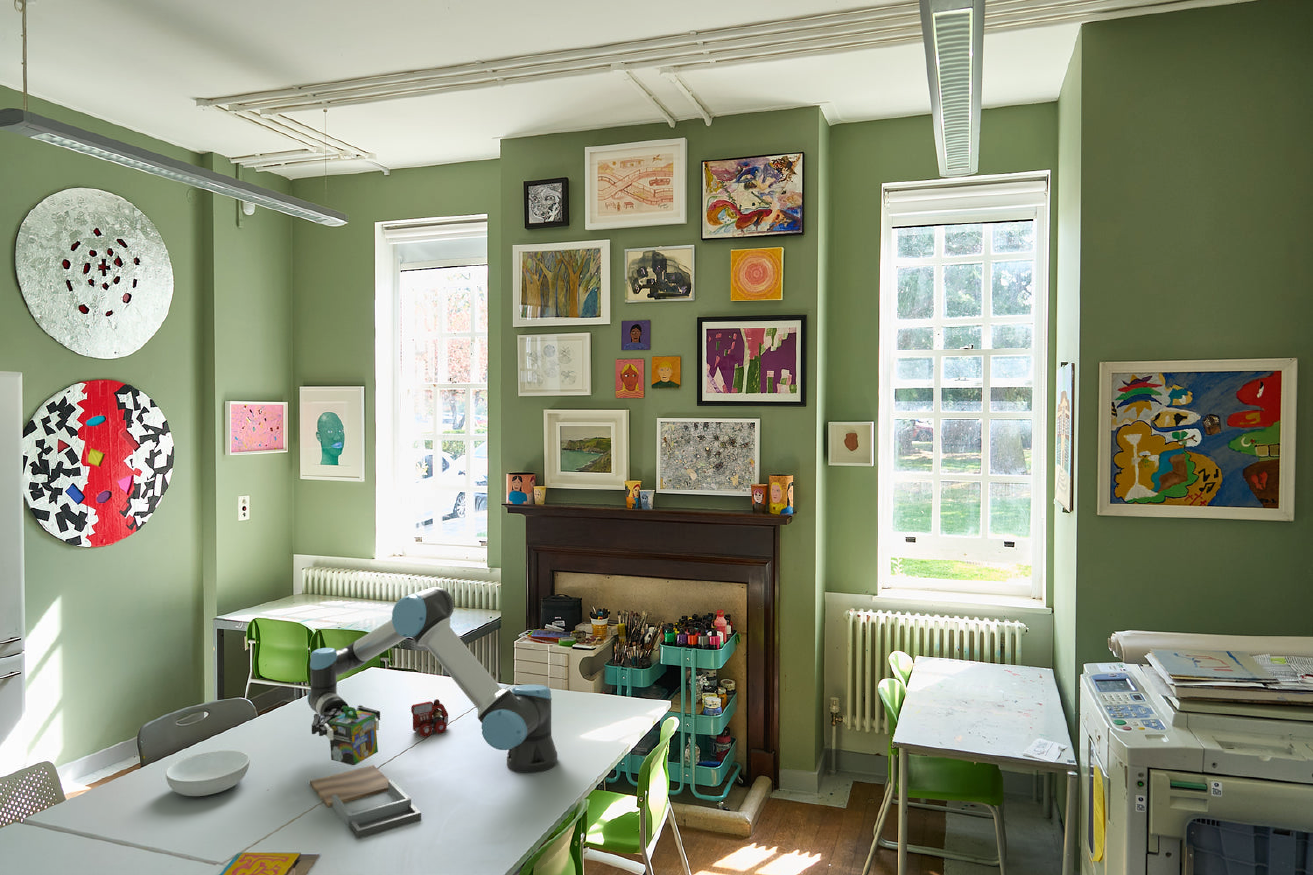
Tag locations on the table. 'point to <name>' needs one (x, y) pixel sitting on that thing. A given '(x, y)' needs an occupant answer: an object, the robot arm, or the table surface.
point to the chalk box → (353, 736)
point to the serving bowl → (207, 772)
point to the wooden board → (351, 785)
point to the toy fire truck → (429, 718)
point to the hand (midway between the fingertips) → (355, 730)
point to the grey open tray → (379, 814)
